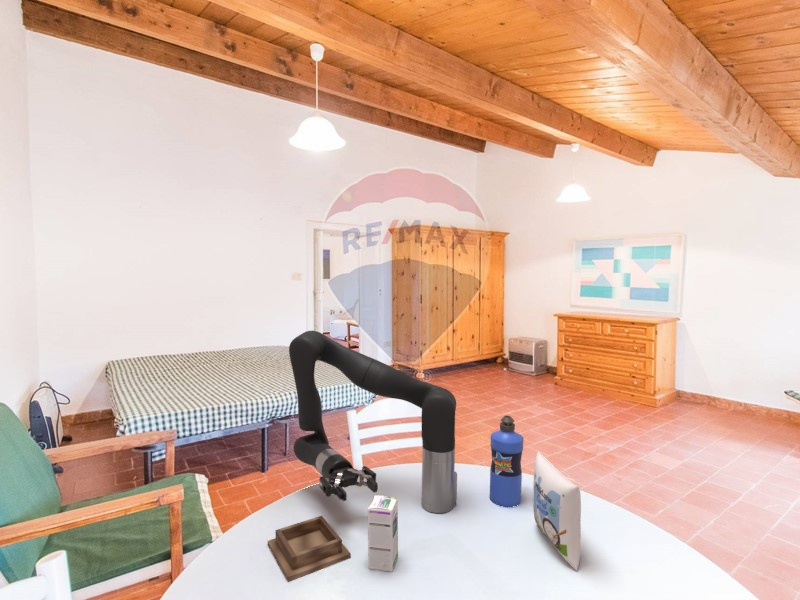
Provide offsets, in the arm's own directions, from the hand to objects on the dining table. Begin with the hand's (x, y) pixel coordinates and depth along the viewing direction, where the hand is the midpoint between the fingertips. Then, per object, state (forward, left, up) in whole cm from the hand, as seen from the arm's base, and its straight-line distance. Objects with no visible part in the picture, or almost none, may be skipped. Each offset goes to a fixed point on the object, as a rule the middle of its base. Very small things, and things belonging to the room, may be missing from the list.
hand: (361, 493), depth 109 cm
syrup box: (0, +10, -12) cm, 16 cm away
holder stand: (+13, -3, -12) cm, 18 cm away
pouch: (-39, +27, -12) cm, 49 cm away
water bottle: (-45, +5, -12) cm, 47 cm away
